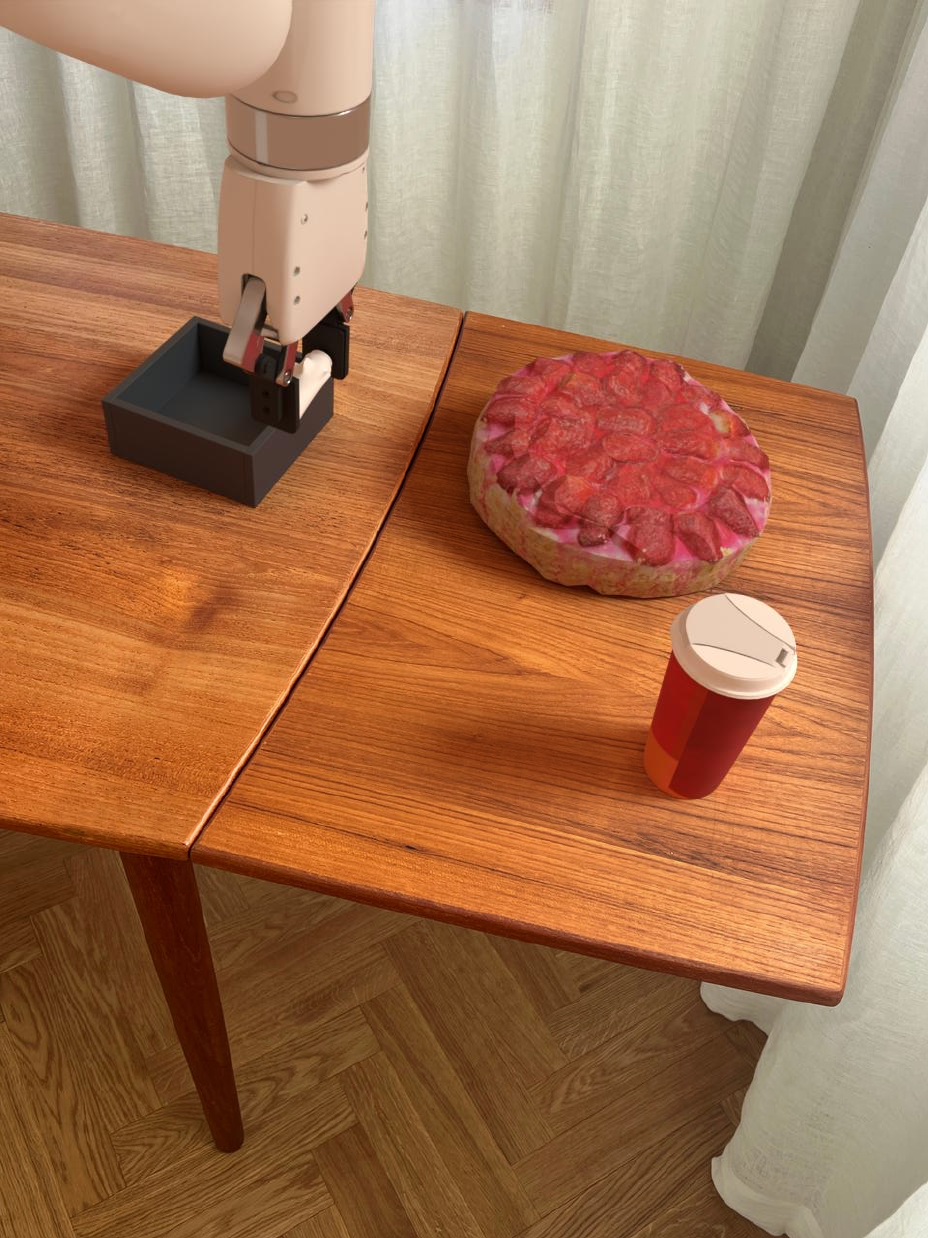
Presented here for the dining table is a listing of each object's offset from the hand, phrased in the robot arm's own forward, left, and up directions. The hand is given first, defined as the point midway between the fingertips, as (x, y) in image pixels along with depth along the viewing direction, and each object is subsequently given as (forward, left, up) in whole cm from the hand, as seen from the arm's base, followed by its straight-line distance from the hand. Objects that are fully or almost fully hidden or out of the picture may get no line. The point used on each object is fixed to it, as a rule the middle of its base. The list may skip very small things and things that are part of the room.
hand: (301, 395), depth 72 cm
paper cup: (+31, -3, -18) cm, 36 cm away
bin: (-14, +12, -17) cm, 25 cm away
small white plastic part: (0, 0, -1) cm, 1 cm away
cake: (+18, +21, -18) cm, 33 cm away
